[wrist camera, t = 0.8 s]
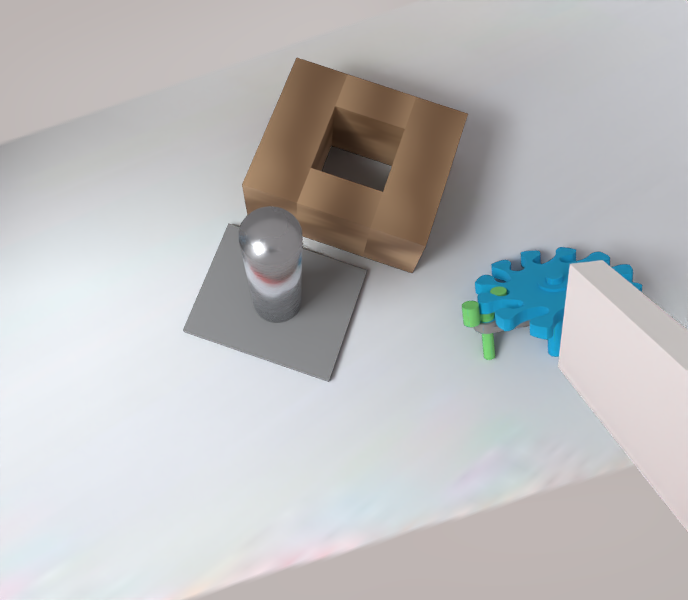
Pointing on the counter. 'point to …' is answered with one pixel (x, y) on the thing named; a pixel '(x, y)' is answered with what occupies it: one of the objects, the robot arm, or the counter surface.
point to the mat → (286, 337)
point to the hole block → (363, 139)
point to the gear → (528, 297)
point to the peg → (273, 262)
